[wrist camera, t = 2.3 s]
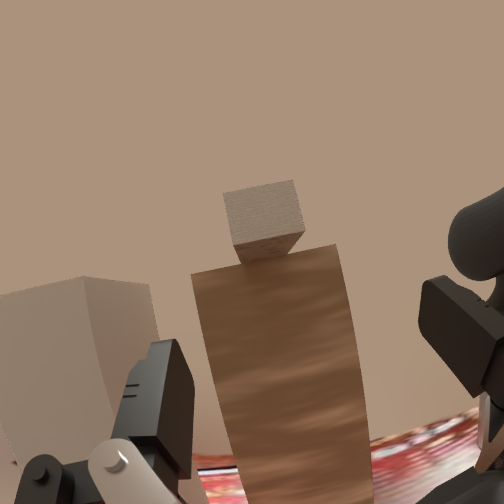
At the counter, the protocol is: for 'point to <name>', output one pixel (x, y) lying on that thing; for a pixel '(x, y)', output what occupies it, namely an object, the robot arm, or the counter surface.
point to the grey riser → (72, 367)
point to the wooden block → (264, 220)
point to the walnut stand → (288, 377)
